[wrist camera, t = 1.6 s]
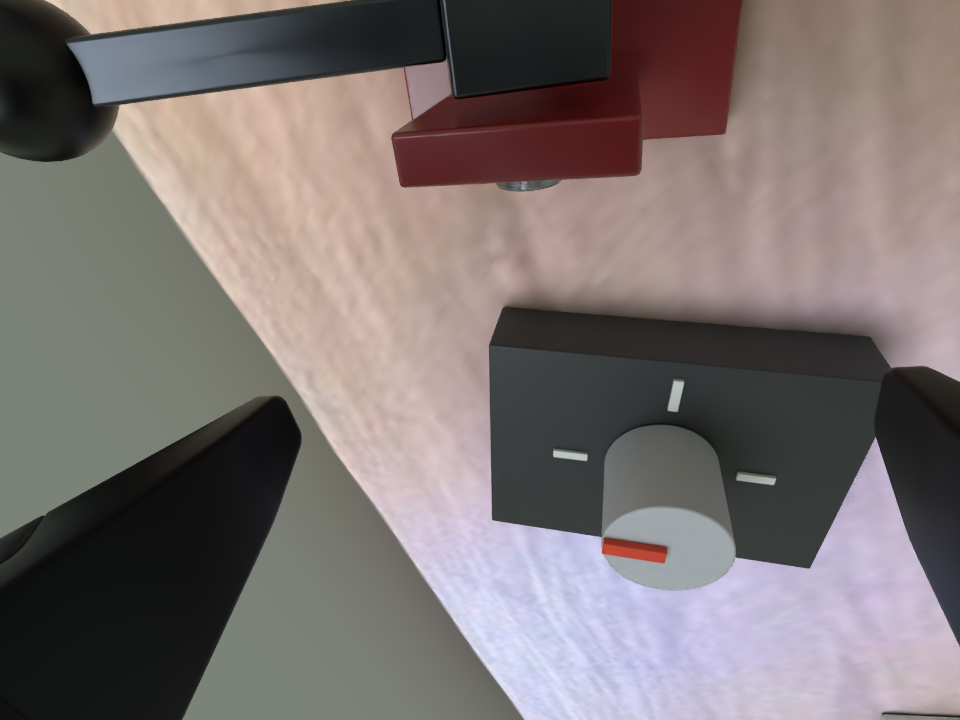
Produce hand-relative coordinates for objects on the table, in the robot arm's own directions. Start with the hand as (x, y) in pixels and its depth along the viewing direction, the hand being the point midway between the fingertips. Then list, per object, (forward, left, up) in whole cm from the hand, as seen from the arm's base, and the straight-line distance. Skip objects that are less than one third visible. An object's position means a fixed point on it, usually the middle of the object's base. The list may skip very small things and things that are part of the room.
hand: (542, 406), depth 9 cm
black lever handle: (+7, -3, -5) cm, 9 cm away
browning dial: (-7, +10, -11) cm, 16 cm away
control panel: (-7, +10, -14) cm, 18 cm away
